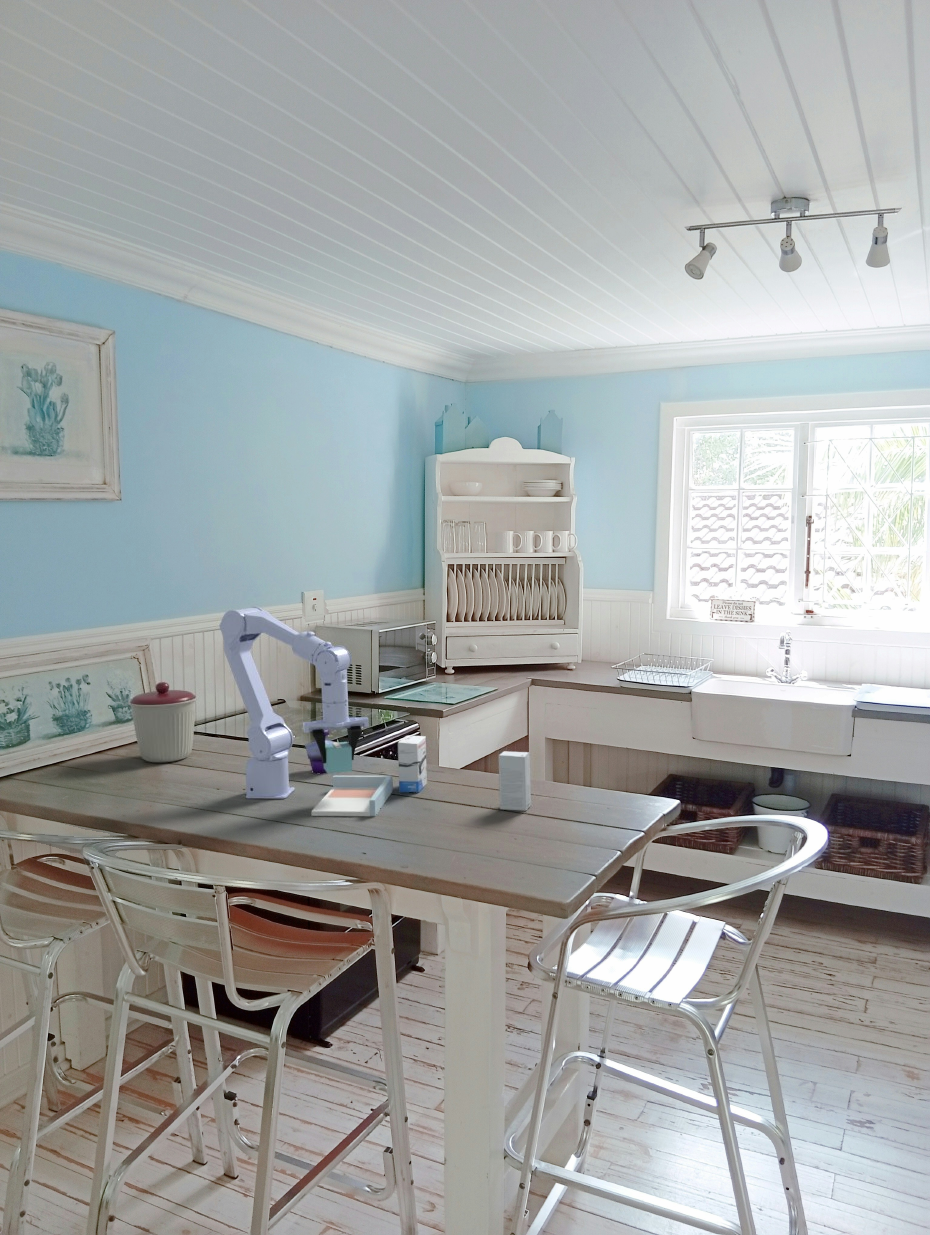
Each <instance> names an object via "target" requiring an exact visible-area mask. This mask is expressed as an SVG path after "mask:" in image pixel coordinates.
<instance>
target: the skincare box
mask: <svg viewBox="0 0 930 1235" xmlns="http://www.w3.org/2000/svg"><path fill="white" fill-rule="evenodd" d="M497 757H498V758H497V760H498V781H499V782H498V783H499V784H498V785H499V787H498V788H499V809H500V810H507V811H509V810H510V811H521V812H523V811H524V812H525V811H528V809H529V808H530V807H531V806H532V798H531V797H532V795H531V792H532V791H531V790H532V788H531V769H530V768H531V766H530V765H531V764H530V763H531V762H530V761H531V760H530V752H529V751H528V752H527V751H507V750H506V751H505V750H504V751H502V752H501V753H500V754H498V756H497Z"/></svg>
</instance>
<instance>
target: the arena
mask: <svg viewBox="0 0 930 1235" xmlns="http://www.w3.org/2000/svg"><path fill="white" fill-rule="evenodd" d="M393 782H394V779H393V775H342V774H341V775H334V774H333V776H332V788H331V789H330V790H329V791H328V792H327V793H326V795H324V797H322V799H321V800H320V801H319V802H318V803H317V804H316V806H314V807H313V809H312V810H310V811H311V817H313V816H314V817H315V816H316V817H319V816H320V817H376V816H377V815H376V814H379V812H380V811H381V809H382V808H383V806H384V804H385V803H386V801H387V800H388V799H389V797H390V796H391V794H392V793H393V791H394V783H393ZM380 808H381V809H380Z"/></svg>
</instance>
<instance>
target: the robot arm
mask: <svg viewBox="0 0 930 1235" xmlns="http://www.w3.org/2000/svg"><path fill="white" fill-rule="evenodd" d="M221 618H222V619H221V621H220V623H219V629H220V632H221V635H222V637H223V651H224V655H225V657H226V659H227V662H228V665H229V667H230V670H231V672H232V675H233V677H234V680H235V683H236V685H237V688H238V690H239V693H240V696H241V699H242V701H243V704H244V706H245V709H246V712H247V714H248V717H249V719H250V723H249V725H248V728H247V729H246V734H247V737H248V749H249V751H250V753H251V755H252V756H251V757H248V759H247V760H246V763H245V764H246V765H245V784H246V785H245V786H246V789H245V790H246V796H245V799H281V800H282V799H286V798H287V797H289V795H291V794H292V793H293V791H295V790H296V787H294V786H293V787H292V786H291V787H290V781H289V780H290V777H289V775H290V774H289V754H290V749H291V748H292V746H293V744H294V735H293V734H294V733H293V732H292V729H290V727H288V726H287V724H286V723H285V721H284V718H283V717H281V716H280V715H278V714H276V713H275V712H274V709H273V708H272V705H271V702H270V700H269V697H268V694H267V692H266V689H265V686H264V684H263V681H262V679H261V676H260V673H259V671H258V668H257V665H256V664H255V661H254V658H253V656H252V653H251V649H252V647H253V644H254V643H255V641H256V640H257V639H258V638H259V637H260V636H261V634H265V635H268V636H269V637H272V638H274V639H275V640H278V641H280V642H282V643H284V644H286V645H289V646H290V647H291V650H292V652H293V654H294V655H296V656H298V657H299V658H301V659H303V660H305V661H307V662H309V663H310V664H311V665H313V666H315V669H316V670H317V672H318V674H319V679H320V681H321V683H320V684H321V703H322V705H321V707H322V719H319V720H318V719H317V720H314V721H313V720H312V721H307V722H303V723H302V730H303V732H304V734H305V733H307V734H309V733H310V732H311V735H312V737H313V738H314V741H315V740H316V743H317V745H318V748H319V750H320V754H321V758H322V762H323V763H326V751H325V734H324V731H323V730H329V731H331V730H343V729H346V731H347V732H346V733H347V740H348V742H347V743H348V744H349V745H350V746H351V749H352V761H354V759H355V757H354V756H355V752H356V748H357V745H358V741H359V739H360V737H361V735H362V731H363V730H362V728H363V727H364V728H369V727H370V724H369V723H370V721H369V717H368V716H361V717H349V698H348V697H349V696H348V695H349V694H348V691H349V690H348V671H347V670H348V669H349V668H350V666H351V664H352V656H351V653H350V652H349V650H348V649H347V648H345V646H343V645H335V646H334V645H333V644H332V642H330V641H325V640H323V639H321V638H319V637H318V636H315V635H316V633H315V632H314V631H313V630H312V631H302V632H298V631H297V630H295V629H293V628H291V627H290V626H288V625H287V624H285V622H284V623H283V622H282V621H281V620H279V619H278V618H276V617H274V616H272V615H271V613H270V612H269V611H267V610H265V609H264V610H263V609H262V608H261V607H260V606H252V607H247V608H242V609H241V608H240V609H231V610H228V611H226V612H225V613H224V614H223V617H221Z"/></svg>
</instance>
